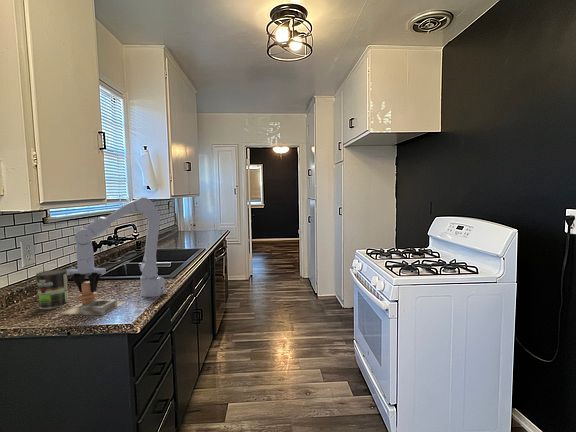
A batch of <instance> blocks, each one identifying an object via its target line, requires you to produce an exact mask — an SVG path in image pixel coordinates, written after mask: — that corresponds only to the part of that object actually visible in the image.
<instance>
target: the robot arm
mask: <svg viewBox="0 0 576 432" xmlns="http://www.w3.org/2000/svg"><path fill="white" fill-rule="evenodd" d="M137 212H139V213H141V214H143V216H145V218H146V219H147V220H148V221H147V229H146V236H145V237H146V239H145V247H144V255H143V259H142V262H141V263H140V265H139V270H140V272H141V275H140V277H139V278H140V294H141V295H140V296H141V297H147V298H148V297H149V298H150V297H160V296H162V295H163V294H167V292H166V283H165V282H166V281H165V278H164V277H163V276H159V274H158V271H159V269H158V266H157V261H158V260H157V252H158V251H157V249H158V242H159V241H158V240H159V232H160V224H161V223H160V222H161V214H160V212H159V211H158V209H157V208H156V206H155V203H154V202H152V201H151V200H150V199H149V198H147V197H144V196H142V197H138V198H136V199H135V200H132V201H129V202H126V203H125V204H124V205H122V206H120V207H119V208H118V209H116V210H114V211H113V212H112V213H110V214H108V215H107V216H106V217H105V216H100V217H95V218H94V220H93V221H92V222H89V223H88V224H87V225H83V226H82V227H83V228H81V229H80V228H79V230H77V231H76V233H75V235H74V240H75V241H76V244H75V247H76V248H75V251H76V252H75V253H76V263H77V268H72V269H71V268H70V269H66V271H67V272H66V276H70V275H73V276H71V279H72V280H73V282H74V283H75V284H76V286H77V288H78V291H79V293H80V294H82V288H81V283H83V282H86V281H85V279H86V275H88V276H87V278H88V281H90V285H91V292H97V287H98V283H99V281H100V278H101V276H102V275H105V274H106V273H107V271H106V270H107V269H106V268H104V267H95V257H94V255H95V254H94V247H93V242H92V240H93V238H97V237H98V236H100V235H101V234H103V233H104V232H106V231H108V230H109V229H110V228H111V224H112V223H114V222H115V221H118V220H119V219H121V218H123V217H124V216H125V215H127V214H130V213H131V214H132V213H137Z"/></svg>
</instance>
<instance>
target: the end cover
mask: <svg viewBox="0 0 576 432" xmlns="http://www.w3.org/2000/svg"><path fill="white" fill-rule="evenodd" d="M81 288H82V293H80V294H79V295H77V299H78V300H80V301H81V303H82V305H86V304H88V303H90V302H92V301H95V300H96V297H98V295H99V293H98V292H97V291H95V292H91V285H90V281H89V280H88V281H84V282H83V283H81Z"/></svg>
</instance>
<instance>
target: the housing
mask: <svg viewBox="0 0 576 432" xmlns="http://www.w3.org/2000/svg"><path fill="white" fill-rule="evenodd" d="M124 303H126V301H117V299H98V298H97V299H95V301H92V302H90V303H88V304H86V305H82V302H81V303H78V304H77V305H75V306H72V307H70V308H69V309H66V310H64V311H62V312H59V315H92V316H93V315H95V316H104V315H105V314H107V313H109V312H111V311H112V310H114V309H116V308H117V307H120V306H121V305H123V304H124Z"/></svg>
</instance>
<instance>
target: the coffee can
mask: <svg viewBox="0 0 576 432" xmlns="http://www.w3.org/2000/svg"><path fill="white" fill-rule="evenodd" d="M67 276H68V275H67V269H60V268H57V269H51V270H50V269H49V270H44V271H41V272H37V273H36V274H35V278H36V286H37V298H38V309H40V310H52V309H56V308H58V307H60V306H62V305H63V306H64V305H65V304H67V303H69V294H68V293H69V291H68V277H67Z"/></svg>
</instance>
